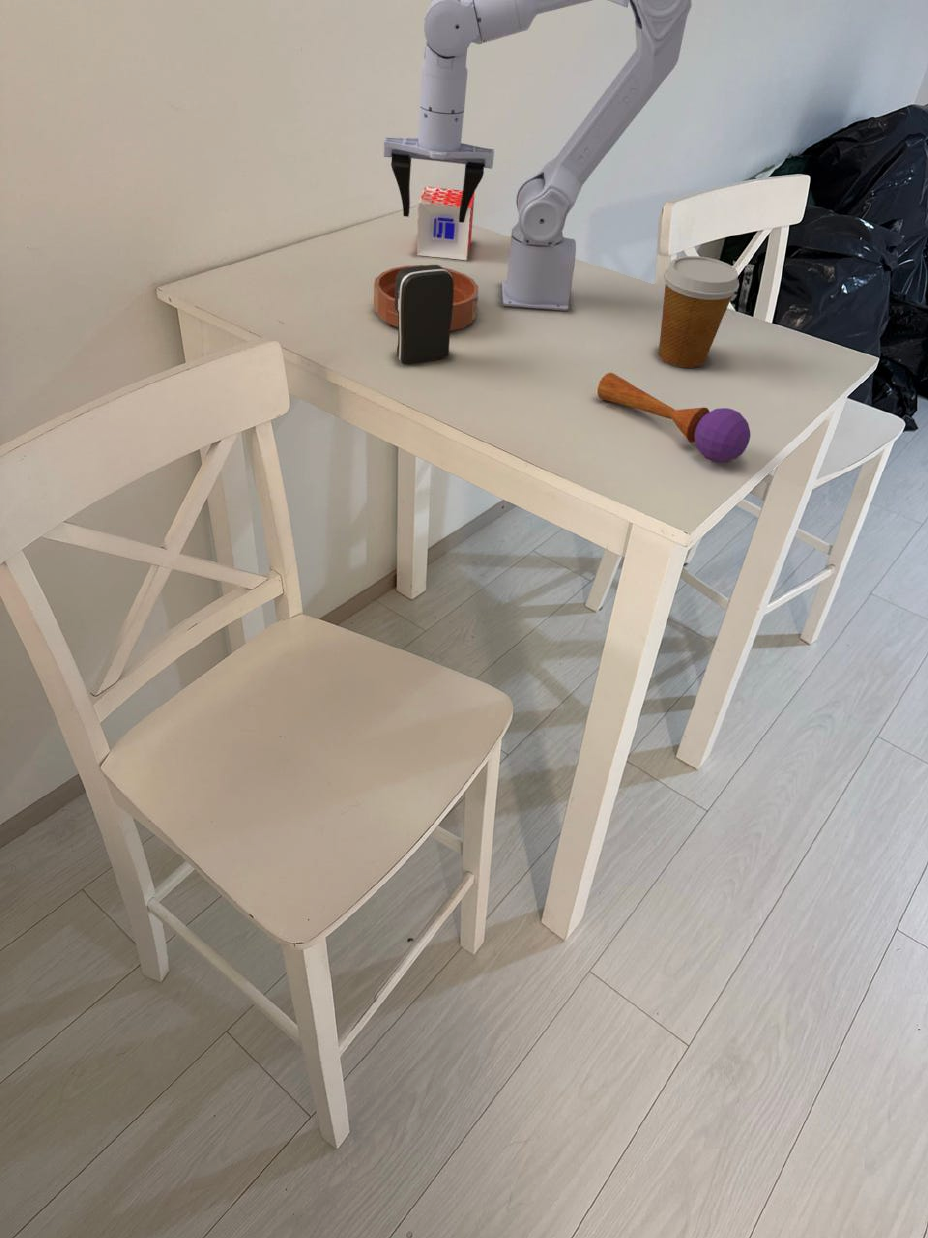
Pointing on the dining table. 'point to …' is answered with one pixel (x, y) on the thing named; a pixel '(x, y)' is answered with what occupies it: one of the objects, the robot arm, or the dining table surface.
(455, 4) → the robot arm
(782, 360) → the dining table surface
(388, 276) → the bowl
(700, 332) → the disposable coffee cup
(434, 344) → the battery charger
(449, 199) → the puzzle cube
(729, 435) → the kendama
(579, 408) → the dining table surface
